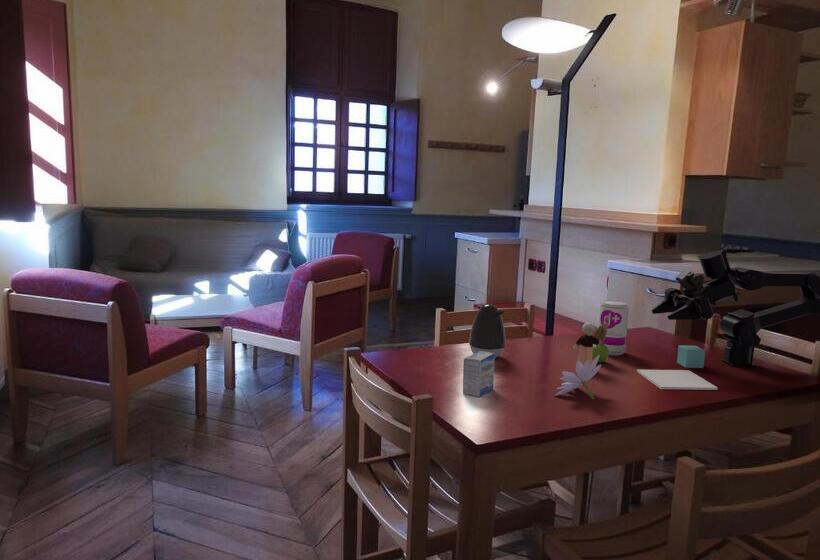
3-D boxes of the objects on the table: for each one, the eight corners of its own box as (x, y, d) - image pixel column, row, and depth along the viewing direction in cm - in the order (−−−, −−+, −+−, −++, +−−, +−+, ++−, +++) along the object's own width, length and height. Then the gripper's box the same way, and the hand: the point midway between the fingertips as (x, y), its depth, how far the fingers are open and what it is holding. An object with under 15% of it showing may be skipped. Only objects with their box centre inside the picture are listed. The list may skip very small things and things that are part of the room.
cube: (694, 362, 169) (695, 345, 168) (703, 368, 164) (705, 350, 163) (676, 362, 169) (678, 345, 168) (685, 367, 164) (687, 350, 163)
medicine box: (479, 397, 135) (481, 360, 134) (461, 394, 138) (463, 357, 136) (493, 388, 142) (495, 353, 141) (476, 385, 144) (478, 350, 143)
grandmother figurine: (578, 372, 157) (582, 324, 155) (569, 368, 160) (572, 321, 158) (602, 369, 160) (606, 323, 158) (593, 365, 163) (596, 320, 161)
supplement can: (619, 357, 172) (623, 306, 169) (591, 352, 176) (595, 302, 174) (628, 352, 178) (632, 302, 176) (601, 347, 183) (605, 299, 181)
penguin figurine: (487, 364, 161) (490, 309, 159) (461, 355, 169) (463, 302, 167) (513, 358, 168) (516, 305, 166) (486, 350, 176) (488, 299, 174)
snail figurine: (613, 361, 168) (616, 319, 166) (602, 366, 163) (606, 323, 161) (595, 357, 171) (598, 316, 169) (584, 361, 167) (587, 319, 165)
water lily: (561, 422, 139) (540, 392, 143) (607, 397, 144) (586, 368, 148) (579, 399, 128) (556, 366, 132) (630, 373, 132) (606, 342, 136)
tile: (688, 372, 159) (688, 370, 159) (717, 389, 145) (717, 387, 145) (636, 371, 158) (637, 369, 158) (660, 389, 145) (661, 386, 145)
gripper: (684, 262, 173) (635, 284, 173) (721, 269, 155) (666, 293, 155) (697, 297, 175) (648, 318, 174) (735, 308, 156) (680, 331, 156)
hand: (659, 314), depth 165 cm, fingers open, 9 cm apart
